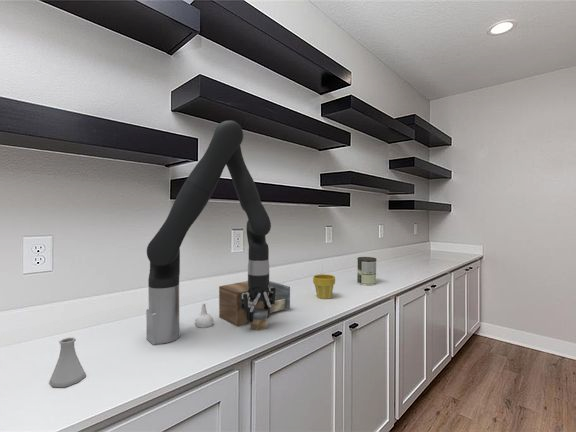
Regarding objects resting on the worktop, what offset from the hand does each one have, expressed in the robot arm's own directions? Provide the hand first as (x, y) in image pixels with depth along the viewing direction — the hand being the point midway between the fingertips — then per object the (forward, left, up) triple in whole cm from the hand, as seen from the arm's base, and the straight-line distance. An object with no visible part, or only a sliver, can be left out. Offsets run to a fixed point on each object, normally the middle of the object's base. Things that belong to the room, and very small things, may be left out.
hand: (258, 319), depth 112 cm
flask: (-55, +4, -3) cm, 55 cm away
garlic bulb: (-13, +15, -3) cm, 20 cm away
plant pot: (+46, +10, -3) cm, 47 cm away
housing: (+2, +12, -3) cm, 13 cm away
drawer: (+14, +12, -2) cm, 18 cm away
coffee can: (+84, +12, -3) cm, 85 cm away
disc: (0, 0, +1) cm, 1 cm away
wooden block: (0, 0, -3) cm, 3 cm away
